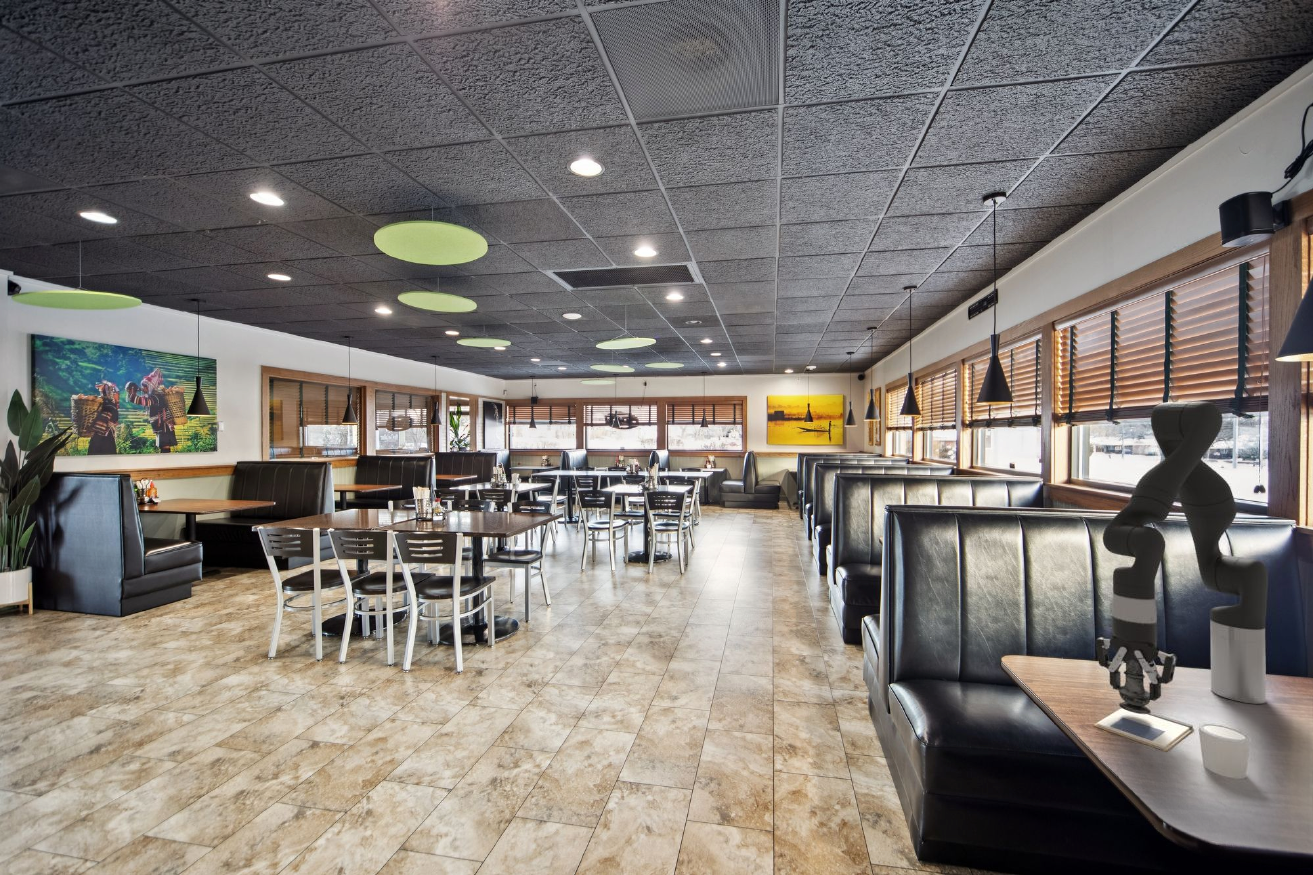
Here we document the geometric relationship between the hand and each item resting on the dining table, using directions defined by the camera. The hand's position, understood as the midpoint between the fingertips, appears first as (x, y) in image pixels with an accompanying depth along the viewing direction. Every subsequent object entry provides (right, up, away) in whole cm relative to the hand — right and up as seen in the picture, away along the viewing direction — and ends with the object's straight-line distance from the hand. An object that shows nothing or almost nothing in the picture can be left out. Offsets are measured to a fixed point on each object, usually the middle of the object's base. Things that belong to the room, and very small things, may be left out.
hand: (1134, 693), depth 124 cm
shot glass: (+1, -6, -19) cm, 20 cm away
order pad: (-1, -6, -3) cm, 7 cm away
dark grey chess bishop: (0, -3, 0) cm, 3 cm away
